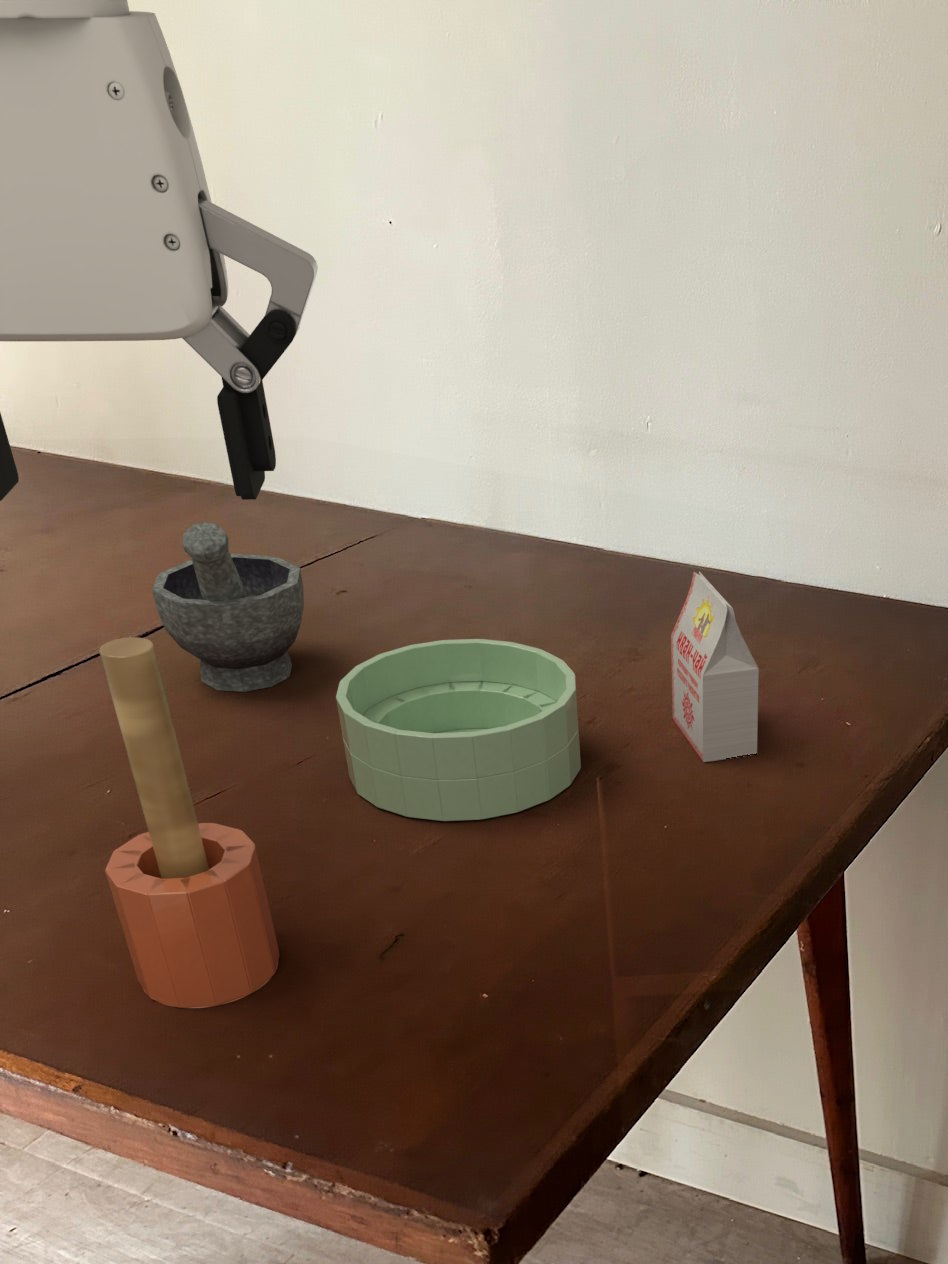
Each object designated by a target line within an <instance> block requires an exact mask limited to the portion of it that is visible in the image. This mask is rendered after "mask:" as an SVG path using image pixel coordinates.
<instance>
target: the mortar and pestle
mask: <svg viewBox="0 0 948 1264" xmlns="http://www.w3.org/2000/svg"><path fill="white" fill-rule="evenodd" d="M229 546H230V543H229V536H228V533H226V531H225V530H224V529H223V528H222V527H221V526H219V525H218V524H216V523H212V522H211V523H210V522H207V521H203V522H198V523H195V524H191V525H190V527H189V528H188V529H187V530H185V532H184V533H183V534H182V547H183V550H184V553H186V554H187V556H189V557H190V558H191V559H190V560H187V561H184V562H182V563H180V564H178V565H176V566H173V567H171V568H168V569H166V570H163V571H161V572H158V574H157V576H156V578H155V581H154V584H153V586H152V588H151V592H152V596H153V600H154V604H155V608H156V611H157V613H158V615H159V618H160V620H161V623H162V625H163V628H164V630H165V631H166V632H167V634H168V635H169V636H170V637H171V638H172V640H173V641H174V642H175V643H176V644H177V645H178V646H179V648H180V649H182V650H184V651H185V652H187V653H189V654H190V655H191V656H193V657H195V658H197V660H200V661H199V664H200V665H199V673H200V680H201V682H202V683H203V684H205V685H207V686H209V687H211V688H212V689H214V690H216V691H224V692H225V691H226V692H239V693H246V692H249V691H250V692H251V691H256V690H262V689H267V688H272V687H273V686H276V685H277V684H279V683H281V682H283V681H285V680H287V679H289V678H290V677H291V672H292V667H293V665H292V661H291V657H290V654H289V652H288V650H289V649H290V648H291V647H292V646H293V645H294V643H295V642H296V641H297V636H298V634H299V631H300V627H301V624H302V621H303V614H304V608H305V606H304V605H305V602H304V601H305V599H304V596H305V595H304V594H305V593H304V583H303V577H302V571H301V567H300V566H297V565H296V564H294V563H291V562H289V561H286V560H285V559H282V558H280V557H278V556H274V555H260V554H259V555H258V554H244V553H230V551H229V550H230V549H229Z"/></svg>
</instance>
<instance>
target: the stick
mask: <svg viewBox="0 0 948 1264" xmlns="http://www.w3.org/2000/svg"><path fill="white" fill-rule="evenodd" d="M153 643H154V642H152V641H151V640H150V639H147V638H144V637H133V636H132V637H131V636H130V637H121V638H116V639H113V640H110V641H107V642H105V643H103V644H102V645H100V647H99V650H98V653H99V657H100V659H101V663H102V668H103V671H104V674H105V678H106V682H107V685H108V689H109V693H110V697H111V700H112V703H113V707H114V710H115V714H116V718H117V722H118V726H119V729H120V732H121V737H122V739H123V743H124V747H125V751H126V755H127V758H128V762H129V765H130V770H131V773H132V776H133V780H134V783H135V787H136V791H137V796H138V799H139V802H140V806H141V809H142V813H143V816H144V820H145V823H146V827H147V832H149V835H150V839H151V842H152V846H153V850H154V853H155V857H156V860H157V864H158V868H159V871H160V875H161V879H168V878H186V877H189V876H193V875H196V874H199V873H203V872H206V871H208V870H209V866H208V862H207V858H206V854H205V850H204V846H203V842H202V838H201V834H200V830H199V826H198V823H199V821H198V818H197V813H196V810H195V806H194V803H193V802H194V801H193V798H192V794H191V789H190V786H189V782H188V777H187V774H186V770H185V766H184V762H183V759H182V754H181V750H180V746H179V742H178V737H177V735H176V730H175V726H174V722H173V718H172V714H171V713H172V712H171V710H170V706H169V702H168V697H167V694H166V689H165V685H164V682H163V678H162V675H161V671H160V670H161V669H160V666H159V665H160V664H159V662H158V658H157V654H156V650H155V646H154V644H153Z"/></svg>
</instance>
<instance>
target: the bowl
mask: <svg viewBox="0 0 948 1264" xmlns="http://www.w3.org/2000/svg"><path fill="white" fill-rule="evenodd" d="M576 679H577V678H576V674H575V672H574V671H573V669H571V667H569V665H568V664H567V663H566V661H564V660H563V659H562V658H559V657H557V656H556V655H554V654H552V653H550V652H548V651H546V650H544V649H541V648H538V647H534V646H530V645H527V644H523V643H518V642H514V641H505V640H495V639H487V638H485V639H484V638H465V639H464V638H463V639H461V638H460V639H441V640H434V641H427V642H422V643H421V642H420V643H413V644H408V645H405V646H402V647H398V648H395V649H392V650H388V651H385V652H382V653H379V654H376V655H374V656H373V657H371V658H369V659H367V660H365V661H363V662H361V663H359V664H357V665H355V666H354V667H353V668H352V669H350V671H349V672H348V673H347V674H345V676H344V677H343V678H341V679H340V681H339V683H338V687H337V691H336V694H335V701H336V707H337V714H338V718H339V724H340V730H341V735H342V742H343V747H344V753H345V760H346V765H347V770H348V776H349V777H348V778H349V779H350V781H351V783H352V786H353V787H354V789H355V791H356V793H357V794H358V796H360V797H362V798H363V799H365V800H366V801H367V802H369V803H370V804H372V805H373V806H374V807H376V808H378V809H380V810H384V811H387V812H391V813H393V814H397V815H400V816H404V817H406V818H412V819H413V818H414V819H421V820H422V819H423V820H429V821H438V822H439V821H440V822H455V821H457V822H458V821H480V820H486V819H492V818H497V817H502V816H506V815H512V814H516V813H519V812H523V811H525V810H527V809H530V808H532V807H536V806H538V805H540V804H543V803H546V802H548V801H550V800H551V799H553V798H555V797H556V796H557V795H559V794H560V793H561V792H563V791H565V790H566V789H567V788H569V787H570V786H571V785H572V784H573V782H574V780H575V778H576V777H577V776H578V774H579V772H580V771H581V769H582V761H581V760H582V759H581V746H580V745H581V744H580V729H579V714H578V698H577V680H576Z"/></svg>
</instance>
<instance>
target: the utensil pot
mask: <svg viewBox="0 0 948 1264" xmlns="http://www.w3.org/2000/svg"><path fill="white" fill-rule="evenodd" d="M198 826H199V830H200V834H201V838H202V842H203V846H204V850H205V854H206V858H207V862H208V866H209V870H208V871H206V872H203V873H199V874H196V875H193V876H189V877H186V878H168V879H161V875H160V871H159V868H158V864H157V860H156V857H155V853H154V850H153V846H152V842H151V839H150V835H149V831H147V832H143V833H140V834H138V835H136V836H134V837H133V838H131V839H130V840H128V841H127V842H125V843H123V844H122V845H120V846H119V847H117V848H116V849H114V850H113V852H112V854H111V856H110V858H109V861H108V862H107V864H106V867H105V869H104V871H105V875H106V879H107V882H108V885H109V889H110V892H111V895H112V898H113V902H114V905H115V908H116V909H115V910H116V912H117V916H118V919H119V922H120V925H121V928H122V933H123V935H124V938H125V942H126V945H127V948H128V952H129V955H130V959H131V962H132V965H133V969H134V972H135V974H136V975H135V976H136V978H137V982H138V983H139V985H140V986H141V988H142V989H143V992H144V993H145V994H146V995H147V996H148V998H149V999H150V1000H152V1001H155V1002H157V1003H159V1004H162V1005H164V1006H169V1007H173V1008H174V1007H175V1008H178V1009H179V1008H181V1009H203V1008H210V1007H211V1008H213V1007H216V1006H221V1005H225V1004H226V1005H227V1004H230V1003H232V1002H236V1001H238V1000H241V999H243V998H246V997H247V996H249V995H252V994H253V993H255V992H256V991H258V990H260V989H261V988H262V987H263V986H265V985H266V984H267V983H268V982H269V981H270V980H271V979H272V978H273V976H274V975H275V974H276V971H277V969H278V966H279V959H280V955H281V953H280V950H279V945H278V940H277V935H276V931H275V927H274V922H273V919H272V913H271V910H270V904H269V901H268V895H267V892H266V887H265V883H264V878H263V874H262V869H261V865H260V860H259V855H258V851H257V847H256V844H255V843H254V841H252V840H251V839H250V838H249V836H248V835H247V834H246V833H245V832H244V831H243V830H241V829H240V828H235V827H231V826H228V825H223V824H219V823H216V822H198Z"/></svg>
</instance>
